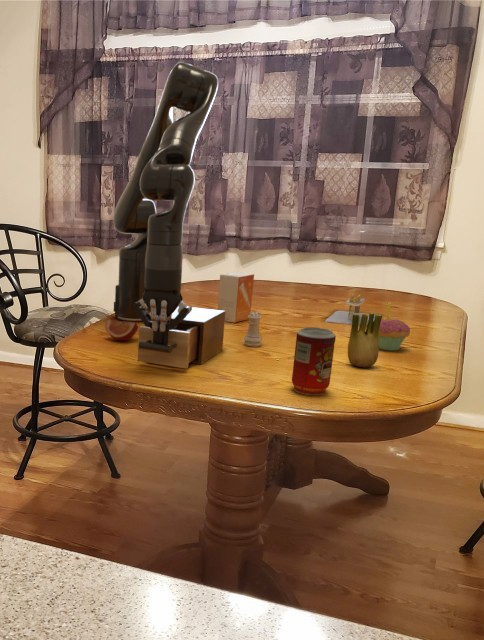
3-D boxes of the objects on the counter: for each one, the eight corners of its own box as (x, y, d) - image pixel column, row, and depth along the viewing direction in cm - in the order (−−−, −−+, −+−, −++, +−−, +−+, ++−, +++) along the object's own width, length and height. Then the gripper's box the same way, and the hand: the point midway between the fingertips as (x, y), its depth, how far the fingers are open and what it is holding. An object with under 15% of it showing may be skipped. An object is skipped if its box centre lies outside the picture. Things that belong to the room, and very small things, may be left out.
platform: (324, 321, 194) (327, 298, 192) (337, 310, 209) (340, 289, 207) (369, 326, 188) (373, 302, 186) (379, 314, 203) (382, 292, 201)
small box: (235, 323, 192) (238, 276, 188) (216, 319, 196) (219, 274, 192) (250, 319, 197) (254, 273, 193) (231, 315, 201) (235, 271, 197)
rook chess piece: (262, 343, 170) (265, 311, 168) (261, 347, 166) (264, 315, 164) (243, 341, 172) (246, 310, 169) (242, 346, 168) (244, 314, 165)
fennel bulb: (343, 365, 152) (350, 312, 148) (352, 361, 155) (359, 309, 151) (370, 371, 148) (378, 316, 144) (378, 366, 151) (386, 312, 148)
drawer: (177, 374, 142) (179, 337, 140) (128, 366, 148) (129, 330, 145) (207, 354, 157) (210, 321, 155) (161, 347, 163) (163, 315, 160)
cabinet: (201, 364, 152) (204, 322, 149) (149, 356, 158) (150, 315, 155) (222, 350, 164) (225, 310, 161) (173, 343, 170) (175, 305, 167)
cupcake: (390, 354, 161) (398, 303, 157) (360, 346, 168) (367, 297, 164) (414, 350, 165) (423, 300, 161) (384, 342, 172) (391, 294, 168)
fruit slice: (100, 339, 174) (100, 320, 172) (114, 334, 179) (115, 315, 177) (128, 344, 169) (129, 324, 167) (142, 339, 174) (143, 320, 172)
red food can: (317, 399, 130) (325, 336, 126) (283, 390, 135) (290, 329, 131) (335, 391, 134) (343, 330, 131) (302, 383, 139) (308, 324, 136)
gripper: (200, 266, 140) (195, 348, 145) (141, 261, 147) (139, 340, 152) (187, 270, 134) (183, 356, 139) (126, 265, 140) (124, 347, 146)
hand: (160, 347), depth 146 cm, fingers closed
